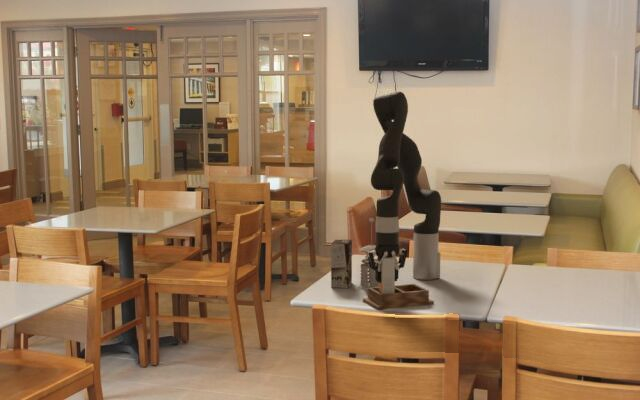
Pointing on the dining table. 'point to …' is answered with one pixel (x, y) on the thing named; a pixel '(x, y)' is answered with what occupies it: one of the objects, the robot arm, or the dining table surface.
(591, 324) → the dining table surface
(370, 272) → the french press
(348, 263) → the coffee box
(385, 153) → the robot arm
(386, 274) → the skincare box
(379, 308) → the wooden compartment tray
